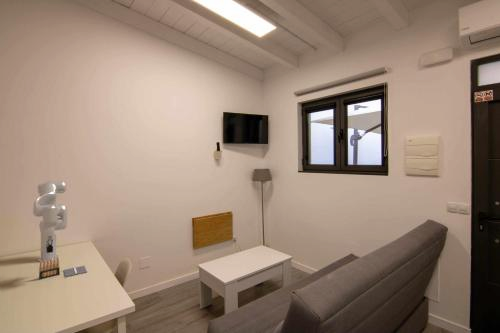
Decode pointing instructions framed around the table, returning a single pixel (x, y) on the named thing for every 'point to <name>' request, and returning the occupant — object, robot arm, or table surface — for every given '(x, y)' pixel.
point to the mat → (75, 271)
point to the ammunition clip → (49, 269)
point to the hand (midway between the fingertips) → (49, 250)
